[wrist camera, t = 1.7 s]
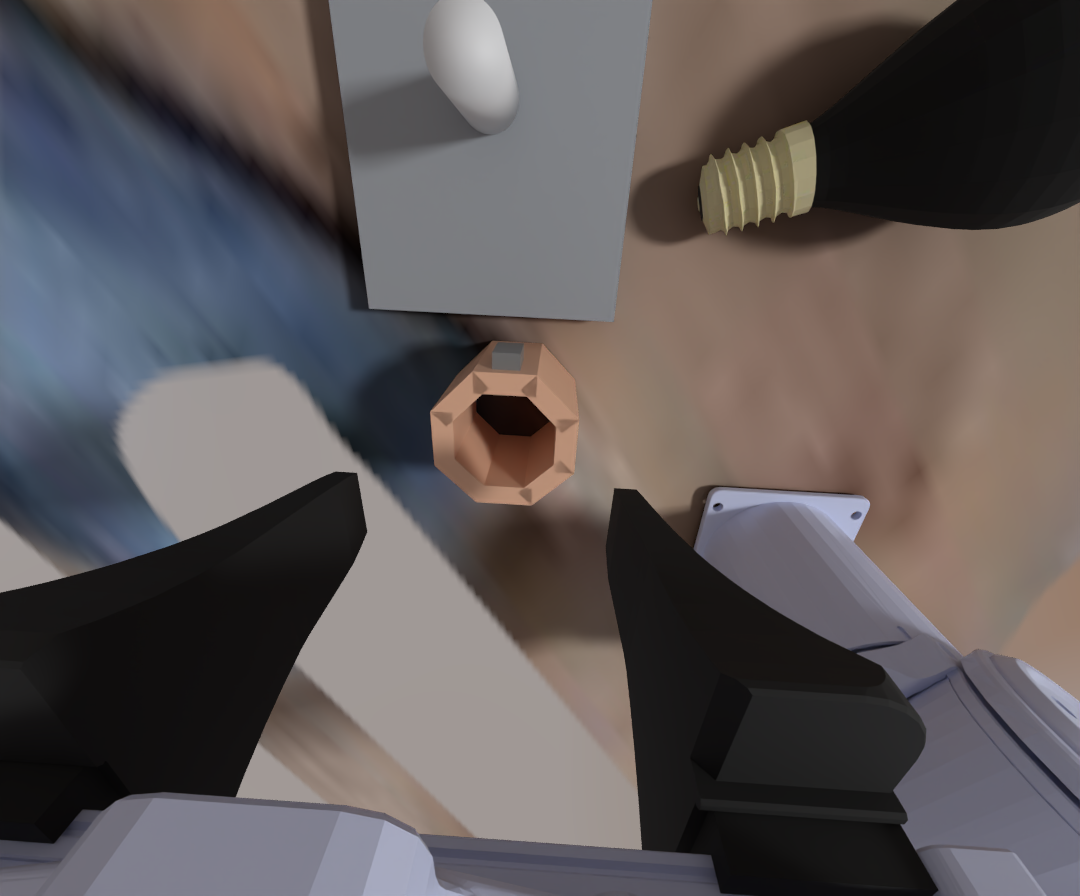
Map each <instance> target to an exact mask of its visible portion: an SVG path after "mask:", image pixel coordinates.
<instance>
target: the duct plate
mask: <svg viewBox="0 0 1080 896" xmlns="http://www.w3.org/2000/svg"><path fill="white" fill-rule="evenodd" d="M329 8H330V16H331V23H332V31H333V38H334V46H335V54H336V61H337V69H338V76H339V84H340V92H341V99H342V107H343V114H344V122H345V130H346V137H347V145H348V152H349V160H350V168H351V175H352V183H353V190H354V198H355V206H356V213H357V221H358V228H359V236H360V244H361V251H362V259H363V267H364V274H365V282H366V289H367V297H368V305H369V309H384V310H402V311H421V312H439V313H458V314H476V315H495V316H514V317H532V318H551V319H569V320H588V321H606V322H614V315H615V307H616V298H617V290H618V282H619V273H620V265H621V257H622V249H623V240H624V232H625V224H626V215H627V207H628V199H629V190H630V182H631V174H632V166H633V157H634V149H635V141H636V132H637V124H638V116H639V107H640V99H641V91H642V82H643V74H644V66H645V58H646V49H647V41H648V33H649V24H650V16H651V8H652V0H329Z"/></svg>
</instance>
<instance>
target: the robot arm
mask: <svg viewBox="0 0 1080 896" xmlns="http://www.w3.org/2000/svg"><path fill="white" fill-rule="evenodd" d="M716 503H720V505H719V506H717V507H713V505H714V504H716ZM869 507H870V502H869V501H868V500H867V499H866V498H865V497H863V496H860V495H845V494H829V493H812V492H795V491H779V490H762V489H745V488H729V487H716V488H714V489H712V490H711V491H710V492H709V494H708V497H707V501H706V504H705V508H704V512H703V516H702V519H701V523H700V527H699V531H698V534H697V538H696V542H695V546H694V549H693V548H691V547H690V546H689V545H688V544H687V543H686V542H685V541H684V540H683V539H682V538H681V537H680V536H679V535H678V534H677V533H676V532H675V531H674V530H673V529H672V528H671V527H670V526H669V525H668V524H667V523H666V522H665V521H664V520H663V519H662V518H661V517H660V515H659V514H658V513H657V512H656V511H655V510H654V509H653V508H652V507H651V505H650V504H649V503H648V502H647V501H646V500H645V499H644V497H643V496H642V495H641V494H640V493H639V492H638V491H637V490H633V489H617V488H614V495H613V501H612V508H611V515H610V522H609V529H608V535H607V542H606V556H607V569H608V580H609V585H610V590H611V595H612V599H613V604H614V609H615V614H616V619H617V623H618V628H619V633H620V638H621V642H622V647H623V652H624V658H625V664H626V670H627V679H628V689H629V698H630V707H631V718H632V728H633V739H634V750H635V762H636V774H637V786H638V798H639V812H640V827H641V840H642V850H633V849H620V848H606V847H593V846H580V845H566V844H552V843H537V842H525V841H511V840H496V839H482V838H470V837H456V836H442V835H429V834H418V833H417V831H416V830H415V829H414V828H413V827H411V826H409V825H407V824H405V823H403V822H401V821H399V820H397V819H395V818H393V817H391V816H389V815H387V814H385V813H381V812H376V811H371V810H366V809H361V808H356V807H351V806H347V805H334V804H320V803H305V802H292V801H278V800H263V799H249V798H236V795H237V792H238V789H239V787H240V784H241V782H242V779H243V776H244V774H245V772H246V769H247V767H248V765H249V762H250V760H251V758H252V755H253V753H254V750H255V748H256V746H257V743H258V741H259V739H260V736H261V734H262V731H263V729H264V727H265V724H266V722H267V720H268V718H269V716H270V714H271V711H272V709H273V707H274V705H275V703H276V700H277V698H278V696H279V694H280V692H281V689H282V687H283V685H284V683H285V681H286V679H287V677H288V675H289V673H290V671H291V669H292V667H293V665H294V663H295V661H296V659H297V656H298V655H299V652H300V650H301V648H302V647H303V645H304V643H305V641H306V640H307V638H308V636H309V634H310V633H311V631H312V629H313V628H314V626H315V625H316V623H317V621H318V620H319V618H320V617H321V615H322V613H323V612H324V610H325V609H326V607H327V605H328V604H329V602H330V601H331V599H332V597H333V596H334V594H335V593H336V591H337V589H338V588H339V586H340V584H341V583H342V581H343V580H344V578H345V576H346V575H347V573H348V571H349V570H350V568H351V567H352V565H353V563H354V561H355V559H356V557H357V554H358V552H359V550H360V548H361V545H362V543H363V541H364V538H365V536H366V533H367V528H366V522H365V517H364V511H363V506H362V499H361V493H360V488H359V482H358V476H357V473H349V472H333V473H331V474H328V475H326V476H324V477H321V478H319V479H317V480H315V481H313V482H311V483H309V484H307V485H305V486H303V487H301V488H299V489H297V490H295V491H293V492H291V493H289V494H287V495H285V496H283V497H281V498H279V499H277V500H275V501H273V502H271V503H269V504H267V505H265V506H263V507H261V508H259V509H257V510H254V511H252V512H250V513H248V514H246V515H244V516H242V517H239V518H237V519H235V520H233V521H231V522H228V523H227V524H224V525H222V526H219V527H217V528H215V529H212V530H210V531H207V532H205V533H203V534H200V535H197V536H195V537H192V538H190V539H187V540H184V541H182V542H179V543H176V544H174V545H171V546H168V547H165V548H162V549H159V550H156V551H153V552H150V553H147V554H144V555H141V556H138V557H135V558H131V559H128V560H125V561H122V562H119V563H116V564H113V565H109V566H106V567H102V568H99V569H95V570H92V571H88V572H84V573H81V574H77V575H73V576H69V577H65V578H62V579H58V580H54V581H50V582H46V583H42V584H38V585H33V586H30V587H25V588H21V589H16V590H11V591H6V592H2V593H0V896H1080V702H1079V701H1078V700H1077V699H1075V698H1074V697H1073V696H1072V695H1070V694H1069V693H1068V692H1066V691H1065V690H1064V689H1063V688H1061V687H1060V686H1059V685H1057V684H1056V683H1054V682H1053V681H1052V680H1051V679H1049V678H1048V677H1046V676H1045V675H1044V674H1042V673H1041V672H1039V671H1038V670H1036V669H1035V668H1033V667H1032V666H1030V665H1029V664H1027V663H1026V662H1024V661H1022V660H1020V659H1017V658H1013V657H1008V656H1003V655H997V654H993V653H991V652H989V651H986V650H981V649H977V650H974V651H973V652H972V653H970V654H969V655H967V656H965V657H963V656H962V654H961V653H960V652H959V651H958V650H957V649H956V648H955V647H954V646H953V645H952V644H951V643H950V642H949V641H948V640H947V639H946V638H945V637H944V636H943V635H942V634H941V633H940V632H939V631H938V629H937V628H936V627H935V626H934V625H933V624H932V623H931V622H930V621H929V620H928V619H927V618H926V617H925V616H924V615H923V614H922V613H921V612H920V611H919V610H918V609H917V608H916V607H915V605H914V604H913V603H912V602H911V601H910V600H909V599H908V598H907V597H906V596H905V595H904V594H903V593H902V592H901V591H900V590H899V589H898V588H897V587H896V586H895V585H894V584H893V583H892V582H891V580H890V579H889V578H888V577H887V576H886V575H885V574H884V573H883V572H882V571H881V570H880V569H879V568H878V567H877V566H876V565H875V564H874V563H873V562H872V561H871V560H870V559H869V558H868V557H867V555H866V554H865V553H864V552H863V551H862V550H861V549H860V548H859V547H858V546H857V545H856V544H855V543H854V542H853V541H854V539H855V537H856V535H857V533H858V530H859V528H860V526H861V524H862V522H863V520H864V518H865V516H866V514H867V512H868V510H869ZM854 512H856V513H855V514H853V515H852V513H854Z"/></svg>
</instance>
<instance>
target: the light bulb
mask: <svg viewBox="0 0 1080 896" xmlns="http://www.w3.org/2000/svg"><path fill="white" fill-rule="evenodd" d="M1079 202H1080V0H957V1H955V2H954V3H953V4H952V5H950V6H949V7H948V8H946V9H945V10H944V11H943V12H941V13H940V14H939V15H938V16H936V17H935V18H934V19H932V20H931V21H930V22H929V23H928V24H926V25H925V26H924V27H923V28H922V29H921V30H919V31H918V32H917V33H916V34H915V35H913V36H912V37H911V38H910V39H909V40H907V41H906V42H905V43H904V44H903V45H902V46H901V47H899V48H898V49H897V50H896V51H895V52H894V53H893V54H891V55H890V56H889V57H888V58H887V59H886V60H885V61H883V62H882V63H881V64H880V65H879V66H878V67H877V68H876V69H874V70H873V71H872V72H871V73H870V74H869V75H868V76H867V77H865V78H864V79H863V80H862V81H861V82H860V83H859V84H858V85H856V86H855V87H854V88H853V89H852V90H851V91H850V92H849V93H847V94H846V95H845V96H844V97H843V98H842V99H840V100H839V101H838V102H837V103H836V104H835V105H833V106H832V107H831V108H830V109H829V110H827V111H826V112H825V113H824V114H822V115H821V116H820V117H818V118H817V119H816V120H814V121H813V122H811V123H810V124H809V122H808V121H807V120H806V121H803V122H800V123H797V124H794V125H792V126H789V127H786V128H783V129H780V130H779V131H777V132H776V134H775V137H774V139H773V140H772V141H771V142H766V140H765V139H764V138H763V137H762V136H761V137H760V138H758V141H757V144H756V146H755V147H754V148H749V146H748V145H747V144H746V143H745V142H744V143H743V144H742V147H741V149H740V151H739V152H738V153H737V154H736V153H731V151H730V149H729V148H728V149H726V152H725V155H724V157H723V158H721V159H715V158H714V157H713V155H712V154H711V155H710V156H709V161H708V163H707V165H705V166H702V171H701V177H700V183H699V186H698V197H697V203H698V210H699V211H700V215H701V219H702V221H703V222H704V225H705V227H706V229H707V232H708V234H713V233H716V232H718V231H720V230H722V231H724V232H725V235H727V232H728V230H729V229H731V228H732V227H733V226H734V227H739V228H740V230H741V231H743V226H744V225H746V224H747V223H748V222H755V224H756V225H757V227H758V226H759V221H761V220H762V219H764V218H765V217H768V218H771V221H772V222H773V223H774V221H775V218H776V216H778V215H779V214H781V213H787V214H788V216H789V217H790V218H791V217H792V216H796V215H799V214H803V213H806V212H808V211H809V210H810V208H811V207H821V208H829V209H835V210H841V211H846V212H851V213H856V214H861V215H866V216H870V217H875V218H880V219H885V220H890V221H896V222H902V223H908V224H914V225H922V226H931V227H940V228H949V229H968V230H981V229H999V228H1005V227H1011V226H1017V225H1022V224H1026V223H1029V222H1033V221H1036V220H1039V219H1042V218H1045V217H1048V216H1051V215H1053V214H1055V213H1058V212H1060V211H1063V210H1065V209H1067V208H1069V207H1071V206H1073V205H1075V204H1077V203H1079Z"/></svg>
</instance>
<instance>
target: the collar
mask: <svg viewBox="0 0 1080 896" xmlns="http://www.w3.org/2000/svg"><path fill="white" fill-rule="evenodd" d="M482 394H490V395H507V396H525V397H528V398H529V399H530V400H531V401H532V403H533V404H534V405H535V406H536V407H537V408H538V409H539V410H540V411H541V412H542V413H543V414H544V415H545V416H546V417H547V418H548V419H549V420H550V421H549V422H548V423H547V424H546V425H544V426H543V427H542V428H541V429H539V430H538V431H537V432H536V433H535V434H533V435H532V436H517V435H500V434H498V433H497V432H496V431H495V430H494V429H493V428H492V427H491V426H490V425H489V424H488V423H487V422H486V421H485V420H484V419H483V418H482V417H481V416H480V415H479V414H478V413H477V410H476V400H477V399H478V398H479V397H480V396H481V395H482ZM430 415H431V428H432V441H433V454H434V465H435V466H436V467H437V468H438V469H439V470H440V471H441V472H442V473H444V474H445V475H446V476H447V477H448V478H449V479H450V480H452V481H453V482H454V483H455V484H456V485H457V486H458V487H460V488H461V489H462V490H463V491H464V492H465V493H466V494H467V495H469V496H470V497H471V498H472V499H473V500H474V501H475V502H483V503H500V504H516V505H533V504H534V503H535V502H537V501H538V500H539V499H541V498H542V497H544V496H545V495H546V494H548V493H549V492H550V491H552V490H553V489H554V488H556V487H557V486H558V485H560V484H561V483H562V482H564V481H565V480H566V479H568V478H569V477H570V476H572V475H573V474H574V469H575V458H576V448H577V437H578V427H579V414H578V405H577V395H576V386H575V379H574V378H573V377H572V376H571V375H570V374H569V373H568V372H567V370H566V369H565V368H564V367H563V366H562V365H561V364H560V363H559V362H558V360H557V359H556V358H555V357H554V356H553V355H552V354H551V353H550V351H549V350H548V349H547V348H546V347H545V346H544V345H543V344H542V343H526V342H507V341H491V342H490V343H489V344H488V345H487V346H486V347H485V348H484V349H483V350H482V351H481V352H480V353H479V354H478V355H477V356H476V357H475V358H474V359H473V360H472V361H471V362H470V363H468V364H467V365H466V366H465V367H464V368H463V369H462V370H461V371H460V372H459V373H458V374H457V376H456V377H455V378H454V380H453V381H452V383H451V384H450V385H449V387H448V388H447V389H446V391H445V392H444V393H443V395H442V396H441V398H440V399H439V400H438V402H437V403H436V404H435V406H434V407H433V408H432V410H431V411H430Z"/></svg>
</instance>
